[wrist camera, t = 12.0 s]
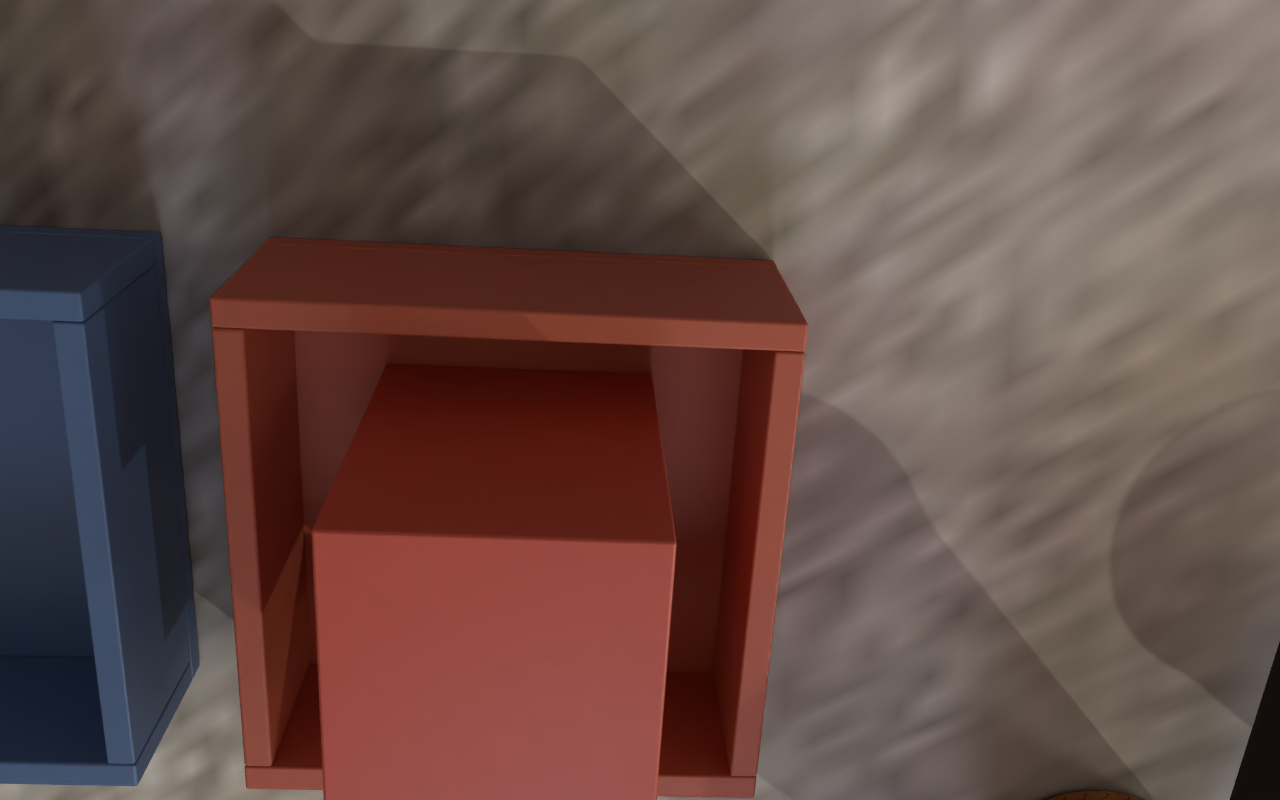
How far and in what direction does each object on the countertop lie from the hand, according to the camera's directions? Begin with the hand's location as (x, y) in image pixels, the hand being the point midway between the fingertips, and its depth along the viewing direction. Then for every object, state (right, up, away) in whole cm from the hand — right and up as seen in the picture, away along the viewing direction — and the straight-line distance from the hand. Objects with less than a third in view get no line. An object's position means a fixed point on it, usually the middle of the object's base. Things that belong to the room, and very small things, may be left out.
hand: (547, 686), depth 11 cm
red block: (-2, 0, +18) cm, 18 cm away
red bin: (-2, +1, +18) cm, 18 cm away
